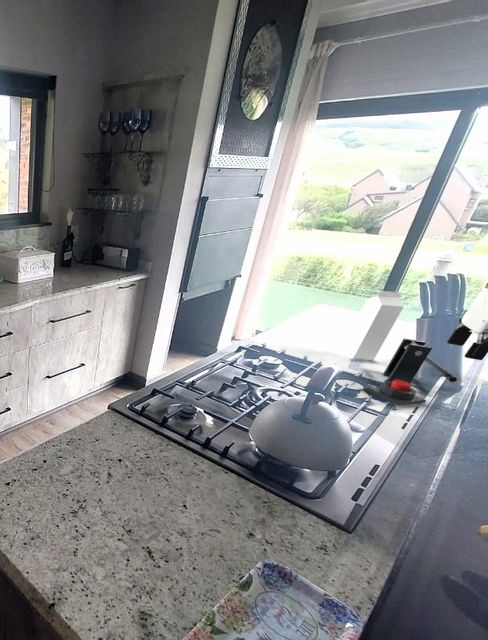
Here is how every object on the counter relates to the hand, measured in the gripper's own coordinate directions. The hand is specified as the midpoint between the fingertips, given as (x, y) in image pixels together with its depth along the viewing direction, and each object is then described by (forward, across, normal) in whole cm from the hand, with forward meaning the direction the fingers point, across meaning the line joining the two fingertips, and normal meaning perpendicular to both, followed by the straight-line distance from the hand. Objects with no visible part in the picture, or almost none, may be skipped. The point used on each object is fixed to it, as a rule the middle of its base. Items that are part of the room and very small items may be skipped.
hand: (463, 351), depth 104 cm
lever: (+5, 0, +5) cm, 7 cm away
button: (+9, -12, +12) cm, 19 cm away
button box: (+13, -12, +12) cm, 21 cm away
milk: (+13, +15, +14) cm, 25 cm away
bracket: (+13, 0, +9) cm, 16 cm away
